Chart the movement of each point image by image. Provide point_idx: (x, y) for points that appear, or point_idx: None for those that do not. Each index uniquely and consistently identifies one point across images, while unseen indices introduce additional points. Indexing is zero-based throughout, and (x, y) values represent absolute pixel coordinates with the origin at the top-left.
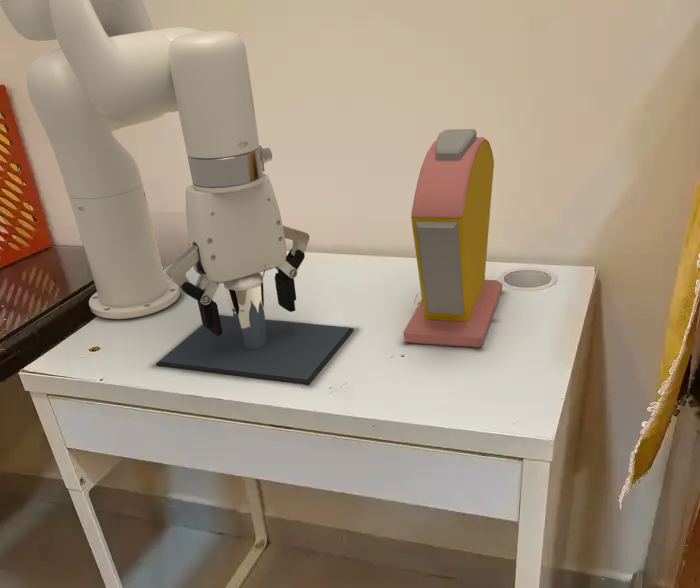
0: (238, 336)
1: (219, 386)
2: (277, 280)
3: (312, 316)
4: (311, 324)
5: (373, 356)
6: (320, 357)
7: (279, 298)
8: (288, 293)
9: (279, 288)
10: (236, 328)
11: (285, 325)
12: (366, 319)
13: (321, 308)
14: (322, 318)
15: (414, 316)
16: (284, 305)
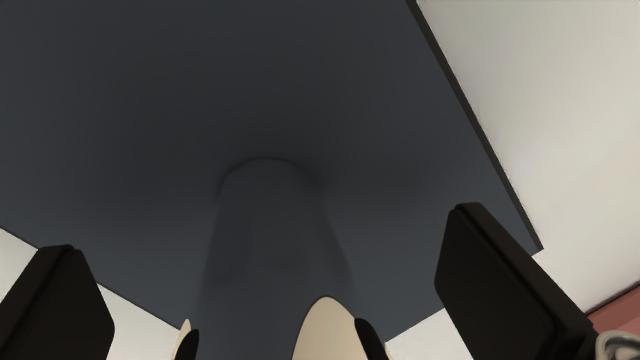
0: (208, 227)
1: None
2: (521, 332)
3: (556, 84)
4: (492, 175)
5: (463, 352)
6: None
7: (464, 245)
8: (475, 358)
9: (492, 301)
10: (202, 251)
11: (431, 130)
12: (613, 206)
13: (631, 39)
14: (560, 122)
15: (636, 334)
16: (446, 264)
